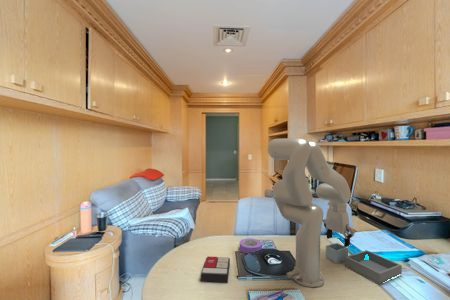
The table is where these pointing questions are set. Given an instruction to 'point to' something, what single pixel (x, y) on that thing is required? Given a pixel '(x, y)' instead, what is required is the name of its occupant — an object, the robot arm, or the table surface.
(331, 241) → the hard drive
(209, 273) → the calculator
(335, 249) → the grey block
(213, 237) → the table surface
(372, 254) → the grey crate
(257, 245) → the masking tape
